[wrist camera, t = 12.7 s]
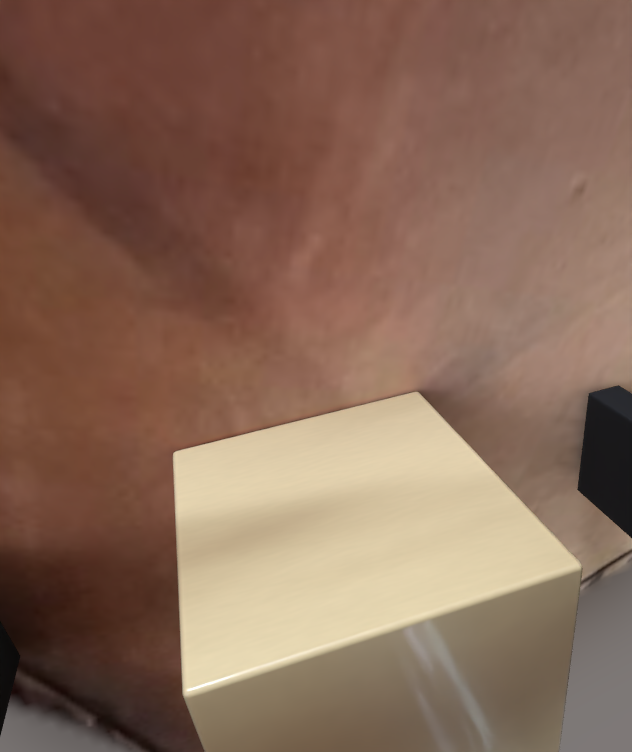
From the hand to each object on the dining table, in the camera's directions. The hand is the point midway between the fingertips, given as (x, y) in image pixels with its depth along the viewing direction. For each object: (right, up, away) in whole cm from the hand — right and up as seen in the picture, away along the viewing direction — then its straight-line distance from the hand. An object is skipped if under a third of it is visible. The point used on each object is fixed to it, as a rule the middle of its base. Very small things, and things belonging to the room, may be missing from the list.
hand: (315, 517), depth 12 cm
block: (0, 0, 0) cm, 0 cm away
